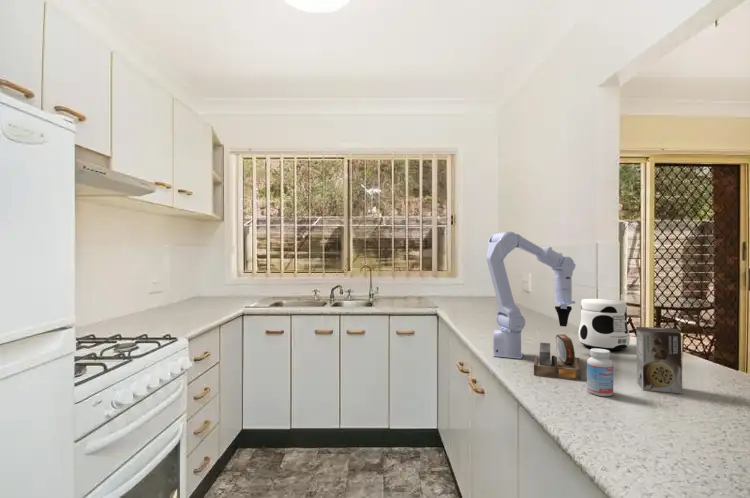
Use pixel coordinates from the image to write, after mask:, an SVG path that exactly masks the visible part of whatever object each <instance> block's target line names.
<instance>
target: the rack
mask: <svg viewBox="0 0 750 498" xmlns="http://www.w3.org/2000/svg"><path fill="white" fill-rule="evenodd" d="M538 358H539V359H538ZM538 360H539V364H538ZM560 366H561V367H560ZM533 376H539V377H545V378H546V377H547V378H555V379H566V380H577V381H581V380H580V379H581V373H580V357H575V359H574V364H565V363H558V356H556V355H553V354H552V355H551V343H549V342H539V357H538V355H535V356H534V361H533Z"/></svg>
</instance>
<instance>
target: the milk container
mask: <svg viewBox="0 0 750 498" xmlns="http://www.w3.org/2000/svg"><path fill="white" fill-rule="evenodd" d="M627 322H628V307H627V302H626V301H624V300H621V299H613V298H612V299H611V298H610V299H609V298H583V299H581V302H580V323H579V327H578V340H579V342H580V344H582V345H583V346H585V347H588V348H591V349H593V348H598V349H605V350H609V351H619V350H624V349H626V348H628V347H629V345H630V341H631V335H630V331H629V327H628V323H627Z"/></svg>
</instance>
